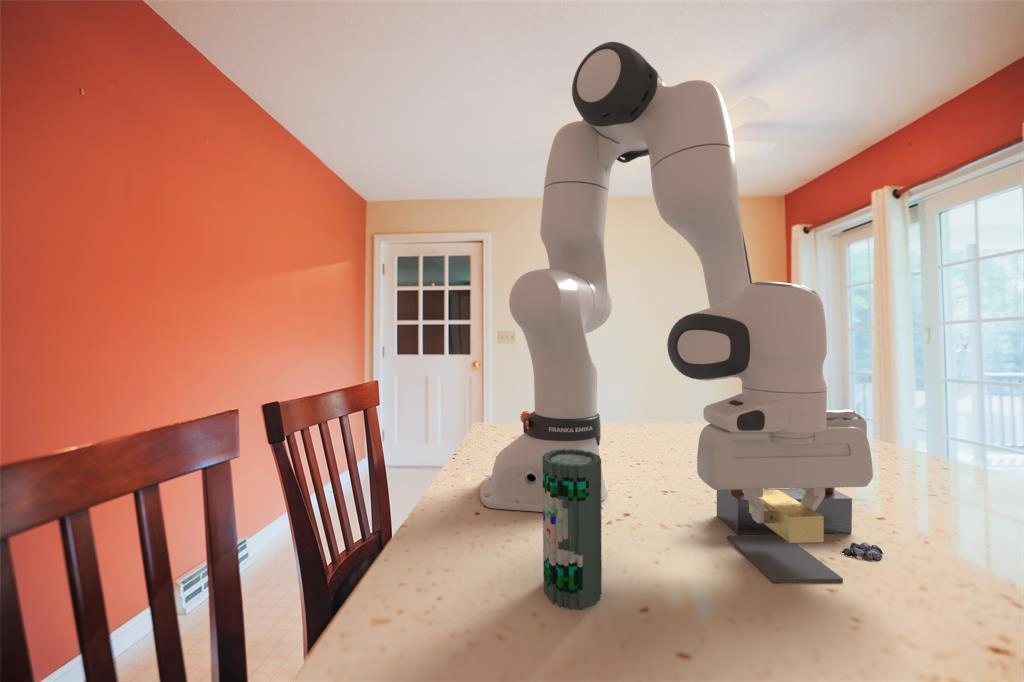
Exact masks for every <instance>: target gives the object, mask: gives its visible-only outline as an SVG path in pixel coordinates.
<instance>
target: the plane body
mask: <svg viewBox="0 0 1024 682" xmlns="http://www.w3.org/2000/svg"><path fill="white" fill-rule="evenodd" d="M763 490H780V491H781V492H783V493H785V494H786V495H788V496H790V497H792V498H793V499H795V500H797V501H798V502H801V500H802V498H803V496H804V494H805V492H806V491H805V490H803V489H802V488H791V489H763ZM815 512H817V513H819V514H821V515H822V516H824V533H826V534H825V535H828V534H827V533H831V534H832V533H852V529H853V528H852V527H853V526H852V525H853V524H852V523H853V522H852V521H853V517H852V516H853V497H851V496H848V495H847V494H844V493H842V492H840V491H838V490H836V489H835V488H825V497H824V498H823V500H822V501H821V503H820V504H819V506H818V507H817V509H815ZM716 516H717V517H718V519H720V520H721V521H722V522H723V523H724V524H725V525H726V526H728V527H729V528H730V529H731V530H732V531H733V532H734V533H735V534H736V536H738V535H739V534H740V535H746V534H760V535H778V534H777V533H776V532H774V531H773V530H772V529H770V528H769V527H768V526H766V525H765V524H764V523H757V522H756V521H755V520H753V518H752V514H750V513H749V501H748V499H747V498H746V496H745V495H744V493H743V491H742V490H716ZM831 534H830V535H831ZM832 535H833V534H832Z"/></svg>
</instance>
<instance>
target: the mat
mask: <svg viewBox="0 0 1024 682" xmlns="http://www.w3.org/2000/svg"><path fill="white" fill-rule="evenodd" d="M726 539H727V540H728V541H729V542H730V543H731V544H732V545H734V547H735V548H737V549H738V551H739V552H740V553H741V554H742V555H743V556H745V557H746V558H747V560H748V561H750V562H751V563H752V564H753V565H754V566H755V567H756V568H757V569H758V570H759V571H760V572H761V573H762V574H763V575H764V576H765V577H766V578H767V579H768V580H769V581H770V582H771V583H773V584H776V583H777V584H781V583H785V584H786V583H843V582H844V578H843V577H842V576H840V575H839V574H838V573H836V572H835V571H834V570H833V569H831V568H830V567H828V566H827V565H826V564H824V563H823V562H822V561H820V560H819V559H818V558H817V557H815V556H814V555H813V554H811V553H810V552H809V551H807V550H806V549H805V548H803V547H802V546H800V545H799V544H798V543H789V542H788V541H786V540H785V539H784V538H782V537H781V536H780V535H778V534H760V535H727V536H726Z"/></svg>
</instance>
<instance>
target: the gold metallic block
mask: <svg viewBox="0 0 1024 682" xmlns="http://www.w3.org/2000/svg"><path fill="white" fill-rule="evenodd" d="M758 498H759V500H760V502H761V504H763V505H764V506H766V508H769V509H770V510H772V516H771V517H770V518H771V519H772V522H771V523H764V524H765V525H766V526H768V527H769V528H770V529H772V530H773V531H774V532H776V533H777V534H776V535H780V536H781V537H782V538H784V539H785V540H786V541H788V542H789V543H796V544H798V543H824V542H825V541H824V538H825V534H824V516H822V515H821V514H819V513H817V512H815V511H814V510H812V509H810V508H809V507H807V506H805V505H803V504H802V503H800V502H798V501H797V500H795V499H793V498H792V497H790V496H788V495H786V494H785V493H783V492H781V491H780V490H763V497H758ZM749 513H750V514H752V505H751V504H750V503H749Z"/></svg>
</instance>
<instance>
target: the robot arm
mask: <svg viewBox="0 0 1024 682" xmlns="http://www.w3.org/2000/svg"><path fill="white" fill-rule="evenodd" d="M571 95H572V100H573V101H572V102H573V103H574V106H575V108H576V110H577V111H578V113H579V114H580V116H581V118H582V119H581V120H580V121H572V122H569V123H567V124H565V125H563V126H561V128H559V130H558V131H557V132H556V134H555V136H554V138H553V141H552V143H551V147H550V151H549V155H548V159H547V165H546V169H545V177H544V186H543V196H542V197H543V198H542V204H541V205H542V207H541V219H540V220H541V221H540V228H539V232H540V238H541V241H542V243H543V246H544V247H545V251H546V254H547V258H548V259H547V260H548V267H549V268H542V269H536V270H532V271H528V272H525V273H523V274H522V275H521V276H520V277H518V278H517V280H516V281H514V284H513V285H512V287H511V290H510V293H509V299H508V301H509V310H510V313H511V314H510V315H511V316H512V318H513V320H514V321H515V323H516V324H517V325H518V326H519V327H520V330H521V331H522V332H523V335H524V337H525V341H526V344H527V347H528V351H529V354H530V360H531V364H532V369H533V370H532V371H533V390H534V400H533V401H534V411H532V412H531V413H530V412H529V411H527V410H524V411H522V413H520V416H519V417H520V421H521V422H522V423H523V424H522V426H523V427H522V429H523V433H522V434H521V435H519V436H518V437H517V438H516V439H514V440H513V441H512V442H511V443H509V444H508V445H507V446H505V447H504V448H503V449H501V450H500V452H499V453H498V454H497V456H496V457H495V460H494V464H493V467H492V472H491V474H490V475H488V476H486V477H485V478H484V479H483V480H482V482H481V484H480V488H479V498H480V501H481V503H482V504H483V505H484V506H485V507H487V508H488V509H499V510H510V511H511V510H513V511H523V512H524V511H525V512H526V511H527V512H539V513H543V456H544V454H545V453H548V452H550V451H553V450H560V449H566V450H568V449H574V450H576V449H578V450H584V451H586V452H587V451H590V452H592V453H594V454H597V455H599V456H600V449H599V448H600V447H599V446H600V444H601V434H602V433H601V431H602V430H601V418H600V413H598V370H597V366H596V364H595V363H594V362H593V359H592V357H591V354H590V350H589V346H588V342H587V337H586V334H588V333H591V332H593V331H595V330H597V329H598V328H600V327H601V326H603V325H604V324H605V323H606V322H607V321H608V319H609V318H610V315H611V311H612V307H613V305H612V297H611V295H610V292H609V290H608V280H607V266H606V253H605V231H606V229H605V228H606V221H607V220H606V219H607V210H608V198H609V192H610V190H609V189H610V188H609V187H610V177H611V172H612V171H611V170H612V166H613V165H614V163H615V161H618V162H620V163H621V164H622V163H623V164H624V163H625V164H627V163H630V162H631V161H634V160H636V159H638V158H642V157H647V156H649V165H650V167H649V168H650V177H651V178H650V179H651V188H652V194H653V198H654V201H655V203H656V207H657V210H658V213H659V216H660V217H661V219H662V220H663V221H664V223H666V224H667V225H668V226H669V227H670V228H672V229H673V230H674V231H676V232H677V233H678V234H679V235H680V236H681V237H682V238H684V239H685V241H687V243H689V244H690V246H691V247H692V248H693V250H694V251H695V253H696V255H697V256H698V258H699V261H700V264H701V266H702V271H703V277H704V283H705V287H706V293H707V299H708V306H709V307H708V308H705V309H703V310H699V311H696V312H694V313H693V312H692V313H690V314H687V315H685V316H683V317H681V318H680V319H678V320H677V321H676V322H675V324H673V326H672V328H671V329H670V331H669V334H668V336H667V337H668V338H667V345H666V346H667V353H668V357H669V360H670V362H671V363H672V365H673V367H674V368H675V369H676V370H677V371H678V372H679V373H680V374H682V375H683V376H684V377H688V378H689V379H692V380H693V379H694V380H697V381H698V380H699V381H703V382H705V381H715V380H725V379H729V378H739V379H740V380H741V385H742V386H741V393H738V394H735V395H734V396H731V397H729V398H726V399H723V400H719V401H716V402H713V403H710V404H708V405H706V406H704V408H703V412H702V413H703V414H702V415H703V420H704V421H705V422H707V423H709V424H707V425H705V426H704V427H703V428H702V430H701V431H700V434H699V437H698V447H697V455H696V457H697V458H696V461H697V462H696V468H697V469H696V472H697V475H698V477H699V478H700V479H701V481H702V482H703V483H705V484H706V485H707V486H708V487H710V488H711V489H712V490H714V491H717V490H742V491H743V493H744V495H745V496H746V498H747V499H748V501H749V503H750V504H751V505H752V518H753V520H755V521H756V522H757V523H771V522H772V519H771V518H770V517H771V516H772V510H770V509H769V508H766V506H764V505H763V504H761V502H760V500H759V498H758V497H763V489H791V488H802V489H803V490H805V491H806V492H805V494H804V496H803V498H802V500H801V502H800V503H802V504H803V505H805V506H807V507H809V508H810V509H812V510H814V511H815V509H817V507H818V506H819V504H820V503H821V501H822V500H823V498H824V497H825V488H837V489H838V488H866V487H867V486H868V485H869V484H870V483H871V481H873V478H874V470H873V469H874V468H873V461H872V460H873V459H872V454H871V448H870V442H869V439H868V425H867V421H866V420H865V419H864V417H863V416H862V415H860V414H858V413H856V412H855V410H850V409H842V410H829V409H827V408H828V407H827V406H828V405H827V403H828V402H827V401H828V399H827V398H828V397H827V396H828V394H827V393H828V390H827V387H828V386H827V384H826V380H825V379H824V378H825V377H824V372H823V369H824V364H825V360H826V357H827V353H828V350H827V349H828V348H827V345H828V341H827V339H828V338H827V325H826V324H827V323H826V315H825V309H824V304H823V300H822V298H821V296H820V295H819V293H817V292H816V291H815V290H814V289H813V288H811V287H809V286H806V285H802V284H797V283H790V282H789V283H788V282H780V281H755V282H753V280H752V274H751V267H750V262H749V256H748V252H747V248H746V247H747V245H746V241H745V235H744V232H743V224H742V223H743V222H742V214H741V207H740V206H741V205H740V198H739V197H740V195H739V184H738V183H739V182H738V173H737V172H738V171H737V161H736V152H735V145H734V137H733V132H732V126H731V123H730V118H729V115H728V112H727V107H726V105H725V103H724V100H723V97H722V94H721V92H720V91H719V89H718V88H717V87H716V85H714V84H712V83H711V82H709V81H706V80H701V79H694V80H687V81H684V82H681V83H678V84H676V85H674V86H667V85H666V83H665V80H664V79H662V77H661V76H660V74H659V73H658V71H657V70H656V69H655V68H654V67H653V66H652V64H650V63H649V62H648V61H647V60H646V58H644V56H642V54H641V53H639V52H638V51H637V50H636V49H633V48H632V47H630V46H629V45H626V44H625V43H621V42H618V41H608V42H605V43H602V44H599V45H598V46H596V47H595V48H593V49H592V50H590V51H589V52H588V53H587V55H585V57H584V58H583V59H582V61H581V62H580V63H579V65H578V67H577V69H576V71H575V74H574V77H573V80H572V87H571ZM607 495H608V491H607V488H606V485H605V480H604V476H603V472H602V469H601V502H602V501H604V500H605V498H606V497H607Z"/></svg>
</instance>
